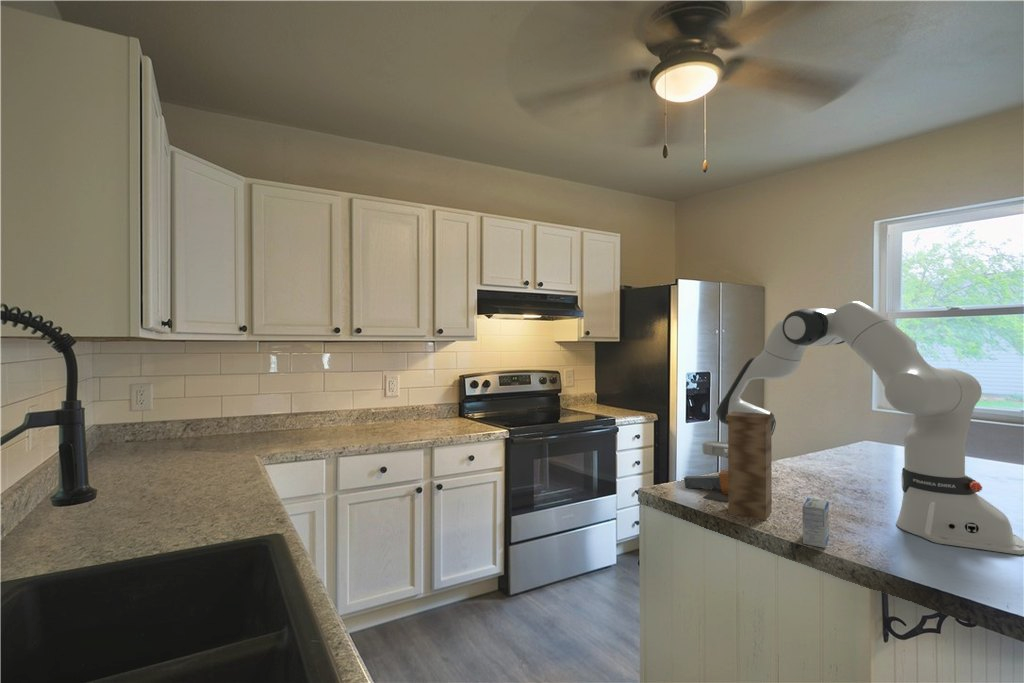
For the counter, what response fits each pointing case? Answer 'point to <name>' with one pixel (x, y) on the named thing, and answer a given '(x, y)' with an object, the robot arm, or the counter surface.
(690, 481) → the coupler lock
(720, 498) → the rubber mat
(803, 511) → the medicine box
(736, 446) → the stand
